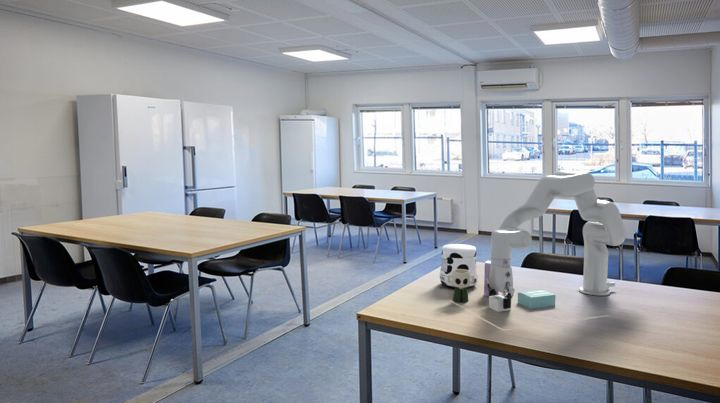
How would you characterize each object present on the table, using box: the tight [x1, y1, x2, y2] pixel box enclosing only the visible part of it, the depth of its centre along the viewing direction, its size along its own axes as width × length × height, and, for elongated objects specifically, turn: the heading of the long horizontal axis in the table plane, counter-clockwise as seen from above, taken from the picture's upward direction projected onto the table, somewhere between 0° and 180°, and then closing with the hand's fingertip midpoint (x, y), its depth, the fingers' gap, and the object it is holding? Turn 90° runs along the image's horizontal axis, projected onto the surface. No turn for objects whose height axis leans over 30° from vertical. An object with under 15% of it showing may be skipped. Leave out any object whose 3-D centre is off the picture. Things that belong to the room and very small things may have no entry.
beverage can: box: [483, 260, 499, 298], centre depth 228 cm, size 6×6×15 cm
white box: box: [488, 294, 512, 313], centre depth 211 cm, size 6×6×5 cm
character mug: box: [448, 269, 474, 303], centre depth 221 cm, size 11×7×13 cm, turn 86°
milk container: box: [439, 243, 479, 289], centre depth 246 cm, size 17×17×18 cm
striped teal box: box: [517, 288, 556, 309], centre depth 216 cm, size 12×8×5 cm, turn 109°
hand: (499, 304), depth 211 cm, fingers open, 9 cm apart
